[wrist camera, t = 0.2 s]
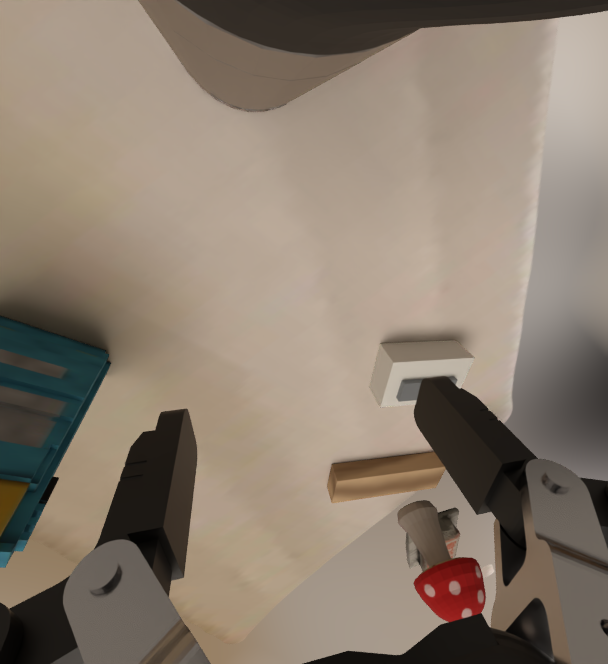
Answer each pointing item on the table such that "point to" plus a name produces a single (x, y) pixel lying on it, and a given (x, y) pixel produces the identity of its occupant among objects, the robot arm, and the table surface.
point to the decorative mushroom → (442, 567)
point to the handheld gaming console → (38, 419)
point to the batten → (384, 476)
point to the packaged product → (449, 532)
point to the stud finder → (415, 369)
